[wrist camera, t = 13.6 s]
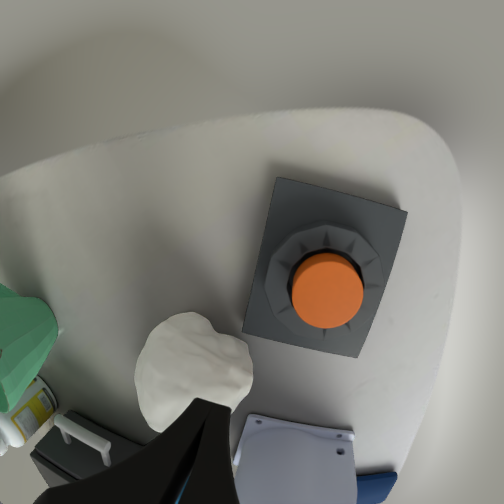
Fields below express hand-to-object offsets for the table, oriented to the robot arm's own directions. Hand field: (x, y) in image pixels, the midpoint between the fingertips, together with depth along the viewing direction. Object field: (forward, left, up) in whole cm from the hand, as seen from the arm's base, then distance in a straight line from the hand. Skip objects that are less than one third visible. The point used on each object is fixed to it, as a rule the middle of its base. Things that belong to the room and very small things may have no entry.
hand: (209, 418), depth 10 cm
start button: (-4, -4, -8) cm, 9 cm away
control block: (-4, -4, -10) cm, 12 cm away
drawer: (+12, +23, -10) cm, 28 cm away
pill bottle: (+23, +20, -11) cm, 33 cm away
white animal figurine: (+3, +6, -11) cm, 12 cm away
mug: (+22, +7, -11) cm, 26 cm away
